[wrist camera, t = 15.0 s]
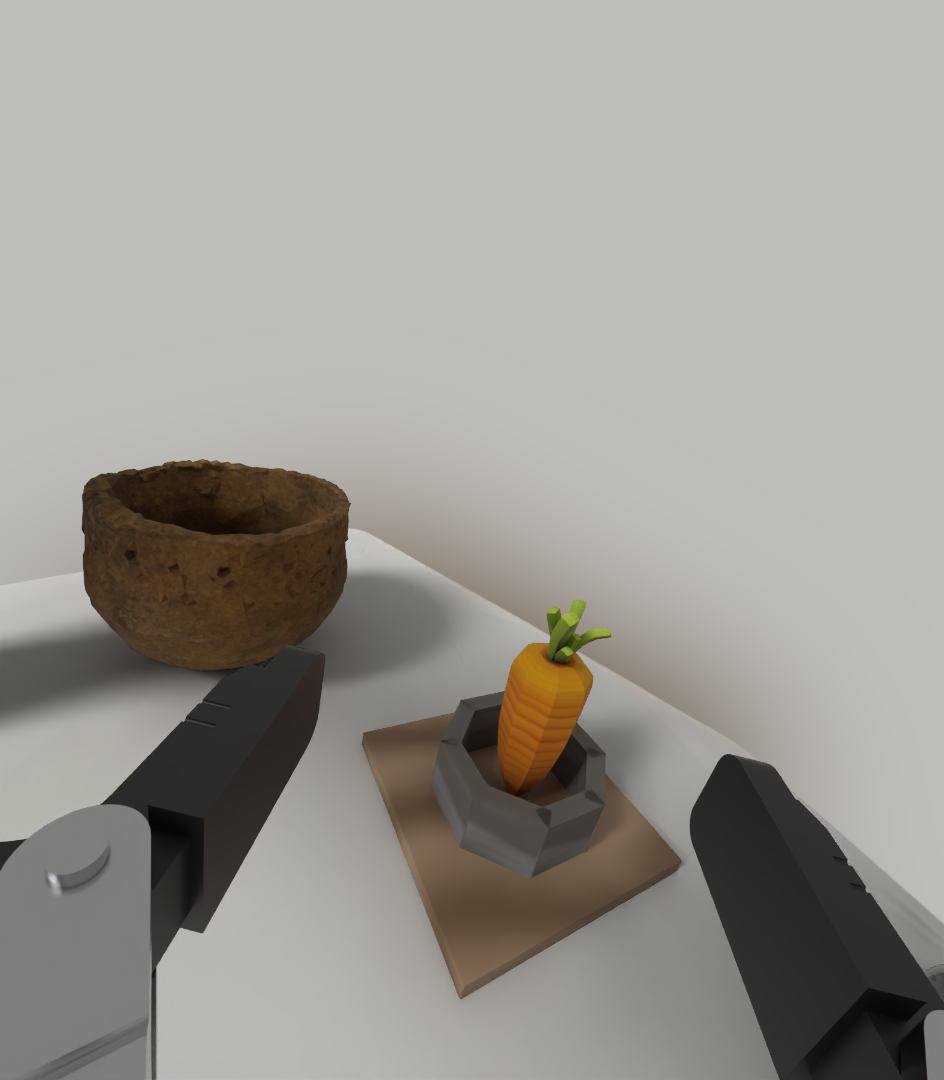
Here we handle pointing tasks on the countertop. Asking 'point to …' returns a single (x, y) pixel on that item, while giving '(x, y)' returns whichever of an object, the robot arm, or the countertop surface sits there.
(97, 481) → the bowl
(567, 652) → the carrot
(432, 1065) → the countertop surface
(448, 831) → the ring holder
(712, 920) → the countertop surface
